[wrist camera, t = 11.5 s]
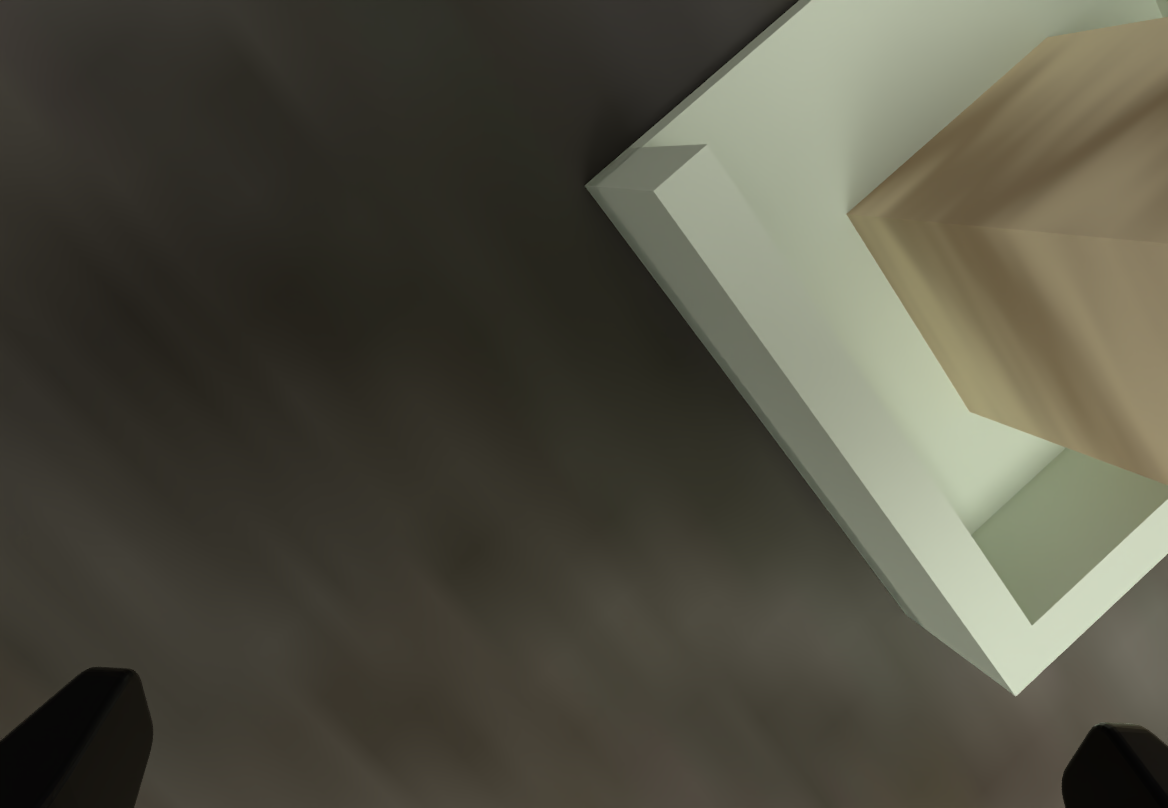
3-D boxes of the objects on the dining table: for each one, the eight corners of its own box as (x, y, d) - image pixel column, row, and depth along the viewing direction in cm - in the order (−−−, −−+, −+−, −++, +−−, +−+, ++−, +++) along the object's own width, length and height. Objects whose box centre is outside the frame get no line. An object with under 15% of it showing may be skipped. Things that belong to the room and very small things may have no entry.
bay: (905, 614, 24) (1015, 696, 20) (584, 185, 19) (653, 191, 15) (1284, 264, 25) (1456, 282, 21) (1074, -238, 20) (1253, -330, 16)
